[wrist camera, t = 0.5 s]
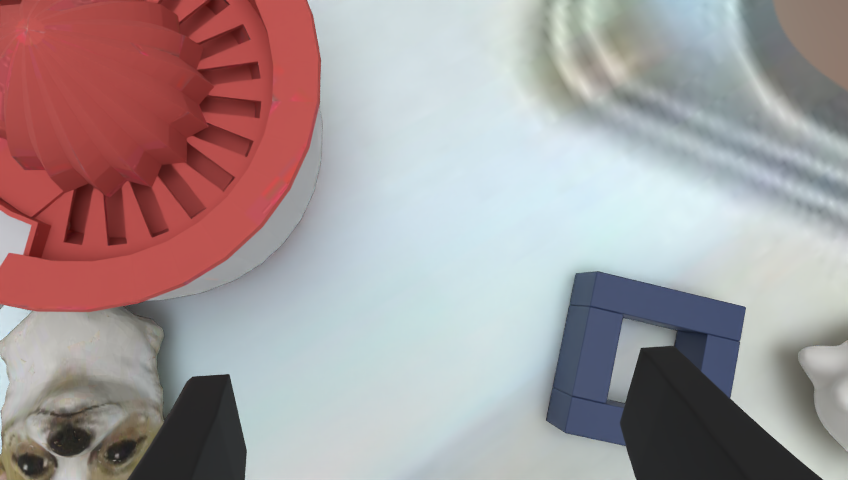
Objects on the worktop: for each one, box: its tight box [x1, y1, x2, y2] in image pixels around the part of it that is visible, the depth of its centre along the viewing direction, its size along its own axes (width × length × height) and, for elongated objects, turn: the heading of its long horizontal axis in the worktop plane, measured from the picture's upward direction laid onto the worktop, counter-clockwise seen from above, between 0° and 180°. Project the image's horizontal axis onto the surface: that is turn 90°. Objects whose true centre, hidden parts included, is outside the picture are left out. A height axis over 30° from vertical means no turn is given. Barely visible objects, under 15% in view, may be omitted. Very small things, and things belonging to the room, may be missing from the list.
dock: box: [546, 271, 746, 446], centre depth 38 cm, size 9×9×4 cm
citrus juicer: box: [0, 0, 322, 312], centre depth 28 cm, size 16×17×20 cm
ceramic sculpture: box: [0, 306, 164, 480], centre depth 32 cm, size 11×9×15 cm
